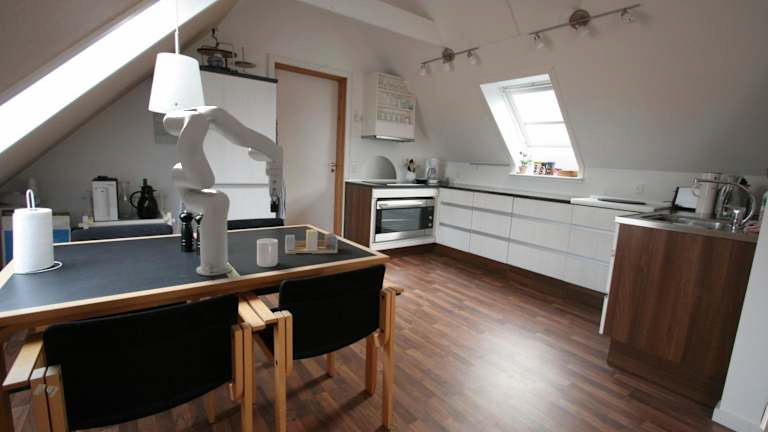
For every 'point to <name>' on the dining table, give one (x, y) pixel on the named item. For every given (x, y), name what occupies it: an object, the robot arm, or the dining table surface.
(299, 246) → the rack
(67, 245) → the dining table surface
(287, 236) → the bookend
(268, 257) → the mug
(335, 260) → the dining table surface
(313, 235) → the book
